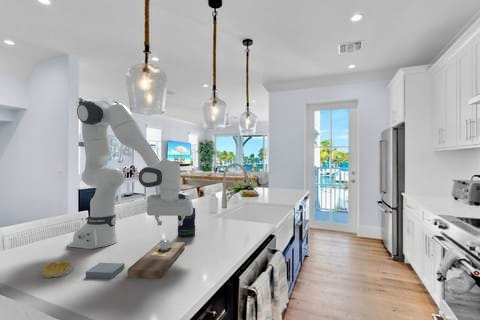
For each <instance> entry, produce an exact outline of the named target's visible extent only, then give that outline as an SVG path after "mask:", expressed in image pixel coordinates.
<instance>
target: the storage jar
mask: <svg viewBox="0 0 480 320" xmlns="http://www.w3.org/2000/svg"><path fill="white" fill-rule="evenodd" d="M181 220H182V218H181V216H177V224H178V225H177V237H178V238H181V239H189V238H194V237H196V222H195V221H196V208H195V207H193V213H192V215H190V216H185V218H184V220H183V224H182V226H179V221H181Z"/></svg>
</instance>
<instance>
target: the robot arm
mask: <svg viewBox="0 0 480 320" xmlns="http://www.w3.org/2000/svg"><path fill="white" fill-rule="evenodd" d="M76 114H77V117H78V119H79V120H80V122H81V132H82V133H81V134H82V140H83V147H84V151H85V164H84V165H85V166H84V170H83V172H82V174H81V180H82V182H83V183H84V184H85V185H87V186H89V187H92V188H95V193H94V195H93V197H91V199H90V201H89V202H90V203H89V209H90V210H89V215H88V216H87V217H84V221H86V223H84V225H82V226H81V227H79V229H77V230H76V231H75V232H74V234H73V237H72V240H71V241H69V242H68V243H67V245H66V246H67V247H70V248H71V247H72V248H78V249H86V250H93V249H98V248H101V247H102V248H103V247H108V246H111V245H113V244H116V243H117V242H118V241H119V239H118V236H117V230H116V222H117V218H116V217H117V216H116V215H117V214H116V197H117V194H118V191H119V189H120V187H121V186H122V185H123V183H124V182H125V178H126V176H125V173H124V171H123V170H122V169H120V168H118V167H116V166H108V163H109V162H108V161H109V157H110V156H111V154H112V150H111V145H110V139H109V133H108V127H109V126H110V128H111V130H112V132H113V134H114V136H115V137H116V139H117V140H118V141H119V142H120V144H121V145H123V146H124V147H128V148H129V149H132V150H134V151H135V152H136V153H138V155H139V156H141V158H142V159H143V161H144V163H145V165H146V166H145V167H143V168H141V170H140V171H139V173H138V181H139V184H140V185H141V186H142V187H144V188H156V187H159V193H160V194H150V195H148V196H147V199H146V202H147V207H146V214H147V216H153V217H154V219H155V220H156V222H157V226H162V224H163V221H162V220H160V216H161V217H162V216H166V217H169V216H171V217H173V216H175V217H176V216H177V217H178V216H181V218H182V220H181V221H179V226H182V224H183V220H184V218H185V216H190V215H192V213H193V208H194V207H193V206H194V205H193V201H192V199H191V193H190V192H187V191H184V190H181V185H180V182H181V167H180V166H181V165H180V162H179V161H177V160H175V159H169V158H162V159H161V160H160V158H159V157H158V156H157V154H156V152H155V150H154V149H153V147H152V146H151V144H150V143H149V142H148V140H147V138H146V137H145V134H144V133H143V131H142V130H141V127H140V125H139V123H138V122H137V119H136V118H135V117H134V115H133V113H132V112H131V110H130V109H129V108H128V107H127V106H126V105H125V104H122V103H121V102H117V101H110V100H95V101H93V100H92V101H91V100H88V101H83V102H80V103H79V104H78V106H77V108H76Z"/></svg>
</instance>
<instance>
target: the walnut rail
mask: <svg viewBox="0 0 480 320" xmlns="http://www.w3.org/2000/svg"><path fill="white" fill-rule="evenodd" d="M184 250H185V242H184V241H183V242H180V241H178V242H175V241H169V252H160V241H159V242H158V243H156V245H154V246H153V247H152V248H151V249H150V250H148V251H147V252H146V253H145V254H144V255H143V256H141V257H140V258H139V259H138V260H137V261H135V262H134V263H133V264H132V265H131V266H130V267H129V268H128V269H127V279H128V278H129V279H130V278H131V279H133V278H135V279H153V280H154V279H155V280H156V279H157V280H159V279H161V278H162V277H163V276H164V275H165V274H166V272H167V271H168V270H169V269H170V267H171V266H172V265H173V264H174V262H175V261H176V260H177V259H178V258H179V256H180V255H181V254H182V253H183V251H184Z"/></svg>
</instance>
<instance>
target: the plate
mask: <svg viewBox="0 0 480 320" xmlns="http://www.w3.org/2000/svg"><path fill="white" fill-rule="evenodd" d="M125 266H126V265H125V263H124V262H123V263H121V262H99V263H97V264H95V265H93V266H92V267H91V268H90V269H88V270H86V271H85V278H89V279H90V278H91V279H94V278H95V279H113V278H115V277H116V276H117V275H119V274H120V273H121V272H122V271H123V270H125Z"/></svg>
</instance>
